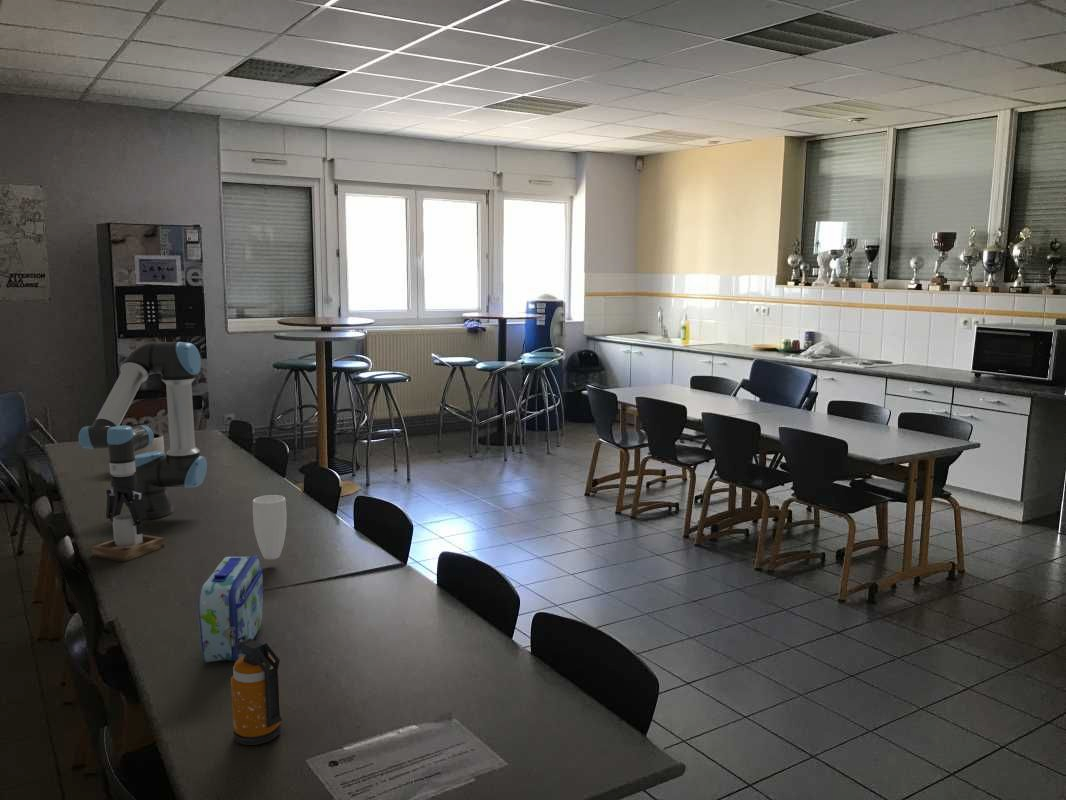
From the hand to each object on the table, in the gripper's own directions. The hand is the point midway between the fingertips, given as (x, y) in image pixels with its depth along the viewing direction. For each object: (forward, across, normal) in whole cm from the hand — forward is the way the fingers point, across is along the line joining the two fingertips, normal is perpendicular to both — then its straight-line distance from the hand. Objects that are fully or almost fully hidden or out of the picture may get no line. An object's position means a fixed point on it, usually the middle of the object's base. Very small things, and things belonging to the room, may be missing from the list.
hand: (128, 541), depth 277 cm
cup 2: (+3, +52, +8) cm, 53 cm away
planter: (+4, -84, +83) cm, 118 cm away
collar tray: (+3, 0, 0) cm, 3 cm away
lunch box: (+3, +81, -40) cm, 90 cm away
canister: (+3, +115, -70) cm, 135 cm away
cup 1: (0, 0, 0) cm, 1 cm away
